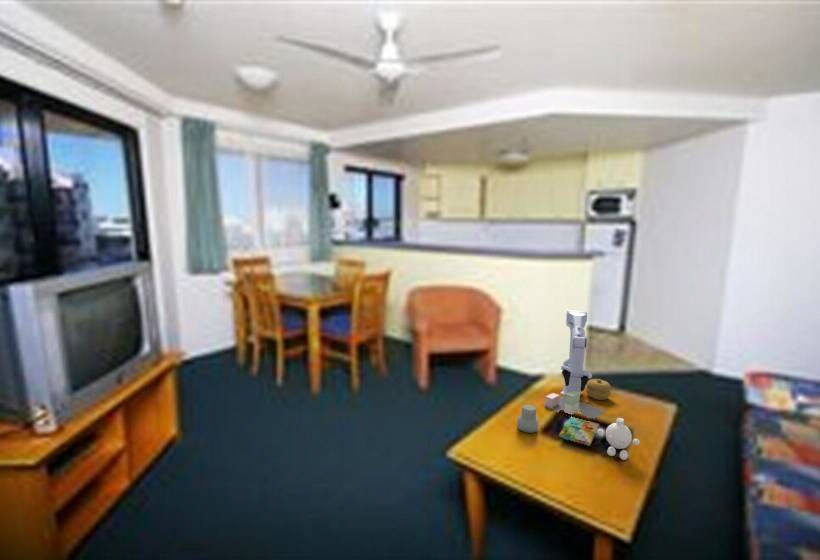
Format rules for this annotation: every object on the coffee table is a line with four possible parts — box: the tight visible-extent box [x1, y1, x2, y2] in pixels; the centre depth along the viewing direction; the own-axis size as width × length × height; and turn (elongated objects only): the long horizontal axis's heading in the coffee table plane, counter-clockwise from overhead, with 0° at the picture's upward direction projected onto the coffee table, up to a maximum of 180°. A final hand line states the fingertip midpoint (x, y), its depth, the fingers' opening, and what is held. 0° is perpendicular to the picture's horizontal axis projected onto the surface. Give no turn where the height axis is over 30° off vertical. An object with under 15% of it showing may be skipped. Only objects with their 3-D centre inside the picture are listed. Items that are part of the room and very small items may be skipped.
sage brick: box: [565, 390, 581, 406], centre depth 200 cm, size 7×4×5 cm, turn 132°
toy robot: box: [596, 417, 641, 461], centre depth 165 cm, size 15×10×15 cm, turn 57°
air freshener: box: [516, 404, 539, 434], centre depth 183 cm, size 11×8×10 cm
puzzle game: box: [558, 416, 600, 447], centre depth 179 cm, size 12×5×20 cm
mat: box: [542, 395, 606, 420], centre depth 205 cm, size 20×22×1 cm
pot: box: [585, 378, 612, 401], centre depth 219 cm, size 12×12×10 cm
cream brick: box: [564, 402, 579, 415], centre depth 201 cm, size 7×4×5 cm, turn 133°
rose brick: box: [544, 392, 560, 408], centre depth 208 cm, size 7×4×5 cm, turn 133°
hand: (574, 388), depth 206 cm, fingers open, 7 cm apart
